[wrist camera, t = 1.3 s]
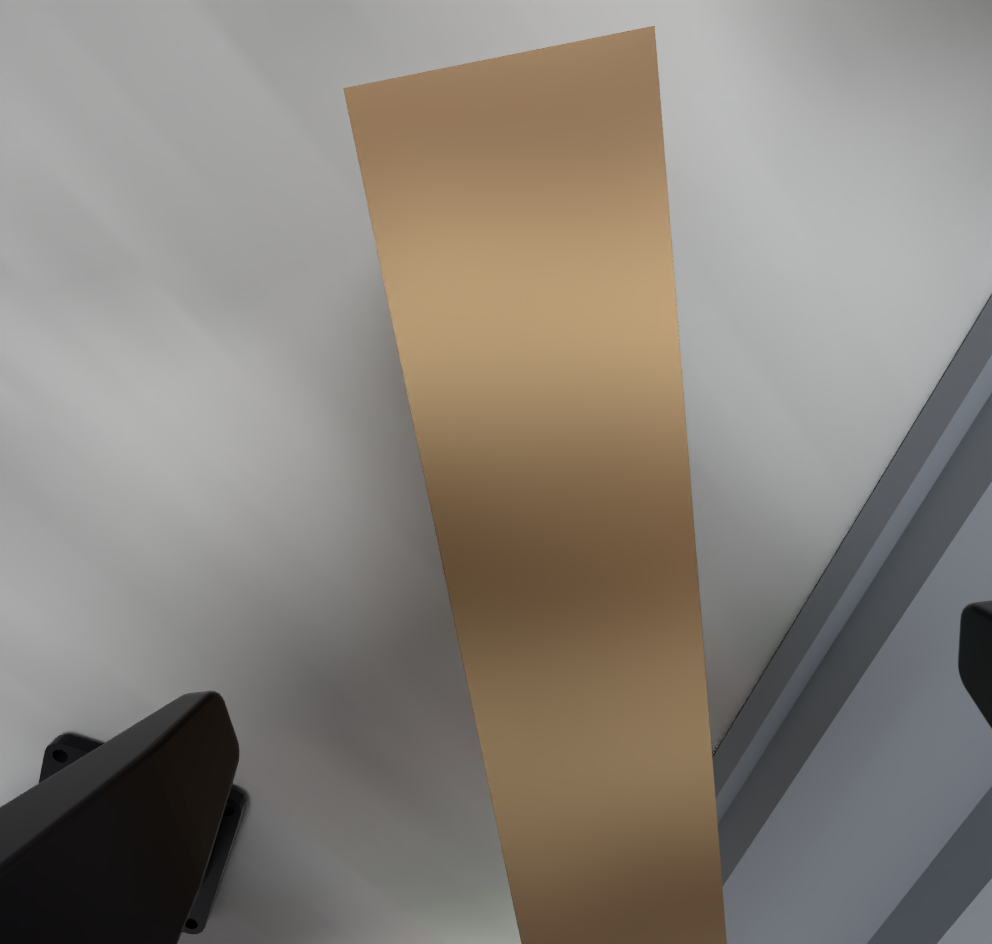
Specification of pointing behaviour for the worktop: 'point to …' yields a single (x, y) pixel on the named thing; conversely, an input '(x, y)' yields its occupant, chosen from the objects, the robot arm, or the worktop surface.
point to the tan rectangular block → (558, 468)
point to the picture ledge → (877, 713)
